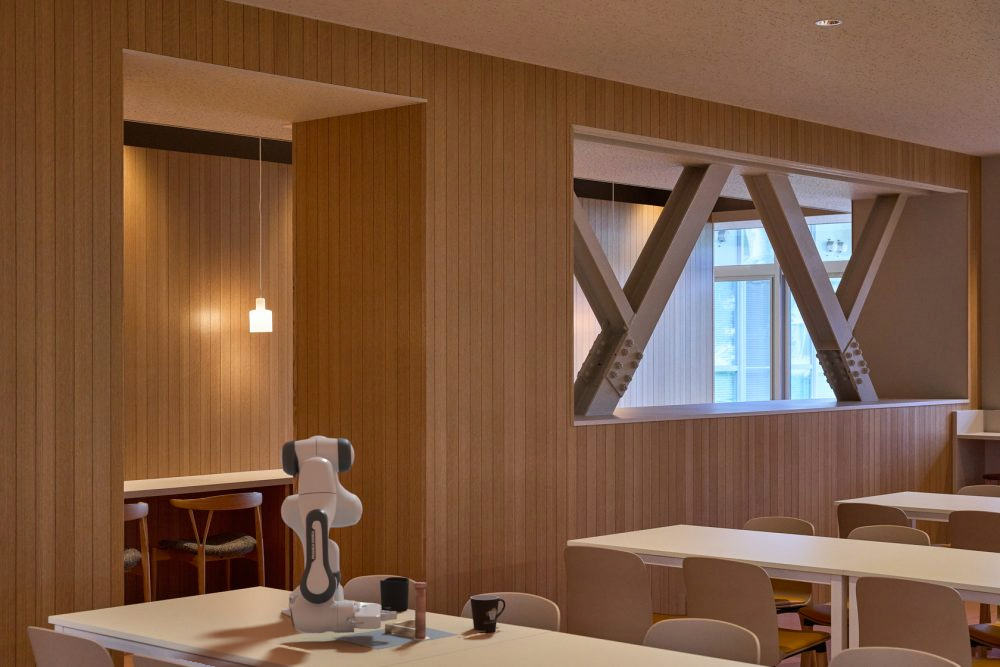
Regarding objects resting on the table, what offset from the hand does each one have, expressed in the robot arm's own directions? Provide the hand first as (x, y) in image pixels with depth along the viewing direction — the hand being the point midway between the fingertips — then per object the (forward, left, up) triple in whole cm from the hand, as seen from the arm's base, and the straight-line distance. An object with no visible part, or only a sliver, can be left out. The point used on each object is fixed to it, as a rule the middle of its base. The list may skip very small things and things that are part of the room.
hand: (396, 615), depth 357 cm
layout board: (-3, +2, -8) cm, 9 cm away
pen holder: (-41, +31, -8) cm, 52 cm away
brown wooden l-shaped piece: (0, +5, -6) cm, 8 cm away
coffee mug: (+7, +30, -8) cm, 31 cm away
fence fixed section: (-9, +10, -7) cm, 15 cm away
